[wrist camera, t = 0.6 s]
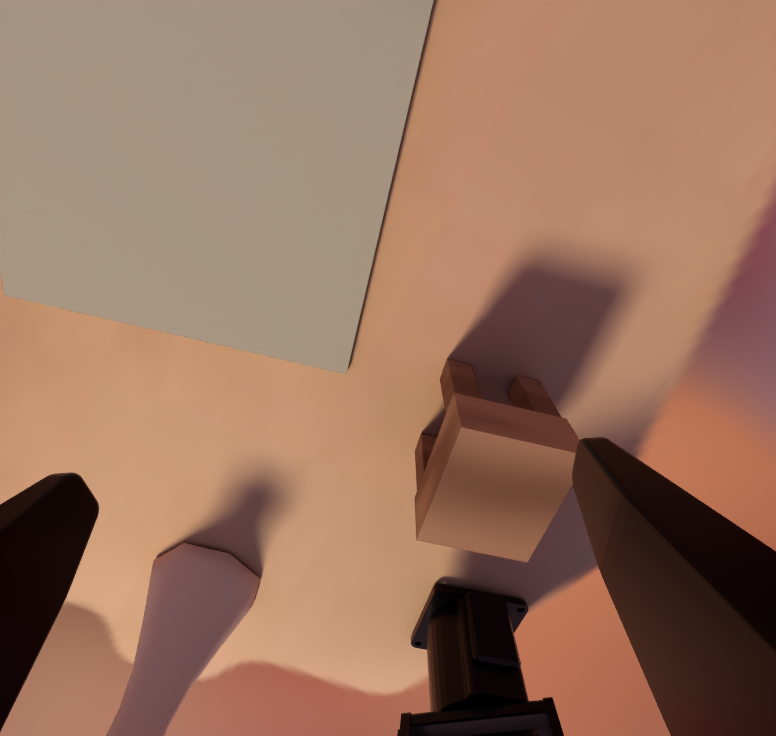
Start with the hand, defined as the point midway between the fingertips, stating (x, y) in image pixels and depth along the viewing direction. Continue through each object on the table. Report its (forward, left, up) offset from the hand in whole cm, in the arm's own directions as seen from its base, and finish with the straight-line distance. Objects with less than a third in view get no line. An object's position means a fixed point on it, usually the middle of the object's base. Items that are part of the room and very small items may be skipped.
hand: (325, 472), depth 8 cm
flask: (-23, +6, -13) cm, 27 cm away
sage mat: (+3, +8, -13) cm, 16 cm away
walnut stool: (-6, -7, -13) cm, 16 cm away
